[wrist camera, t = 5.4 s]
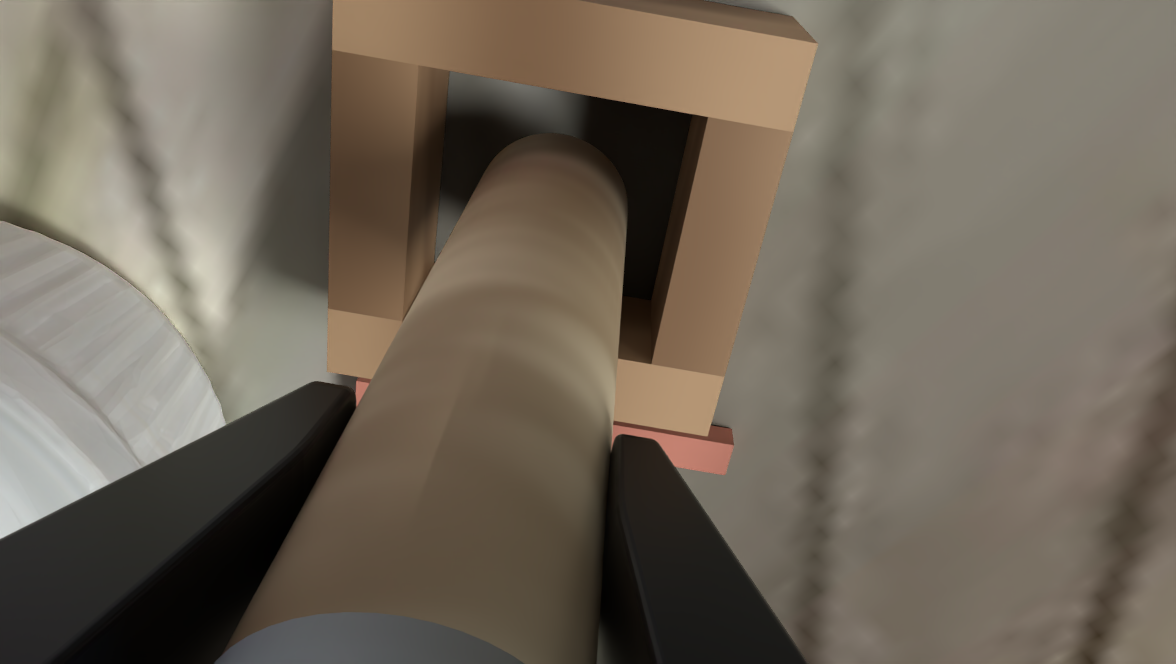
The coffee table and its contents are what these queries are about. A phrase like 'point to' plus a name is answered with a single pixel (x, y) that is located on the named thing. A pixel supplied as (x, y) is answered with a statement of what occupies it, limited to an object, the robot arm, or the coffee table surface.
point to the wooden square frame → (590, 67)
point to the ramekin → (85, 379)
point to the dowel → (472, 446)
